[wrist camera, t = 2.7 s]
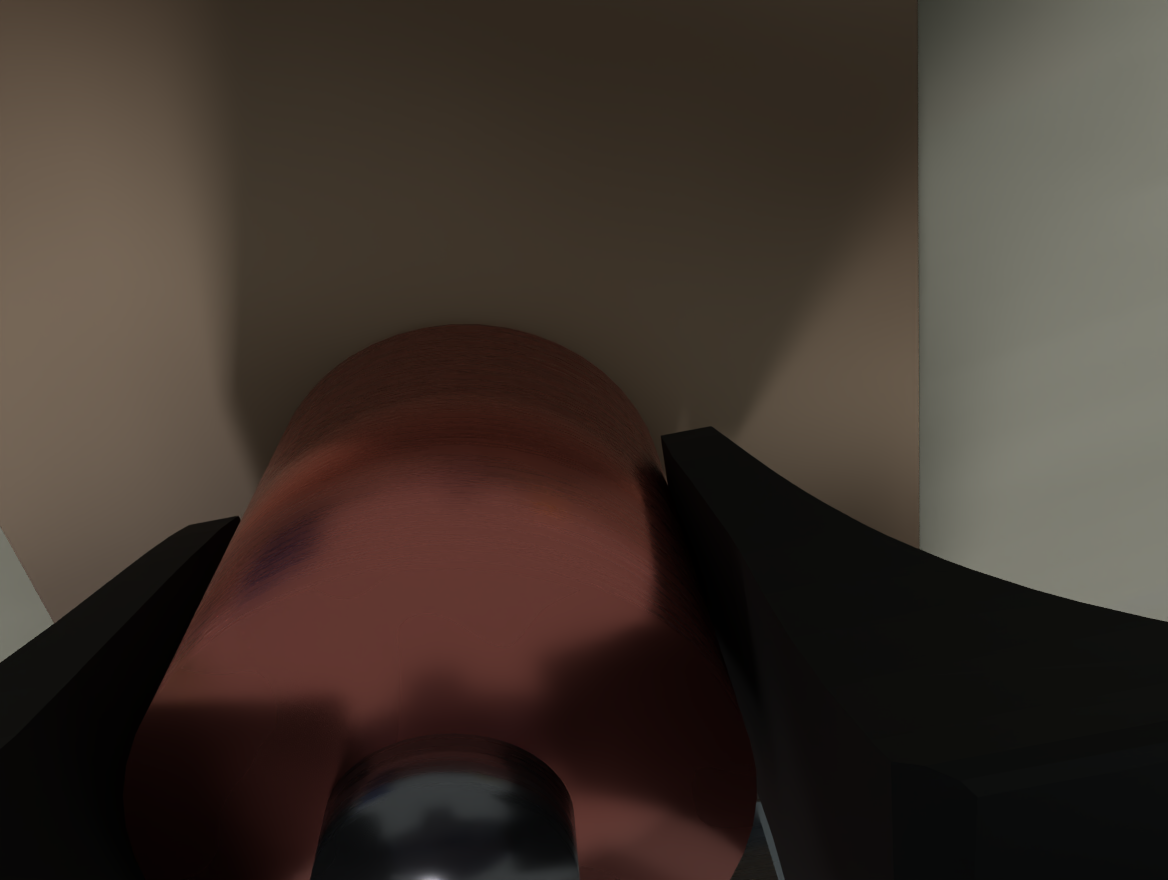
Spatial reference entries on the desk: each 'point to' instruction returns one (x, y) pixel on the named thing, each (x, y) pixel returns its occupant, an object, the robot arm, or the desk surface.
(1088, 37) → the desk surface
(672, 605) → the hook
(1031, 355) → the desk surface
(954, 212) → the desk surface
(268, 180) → the board
